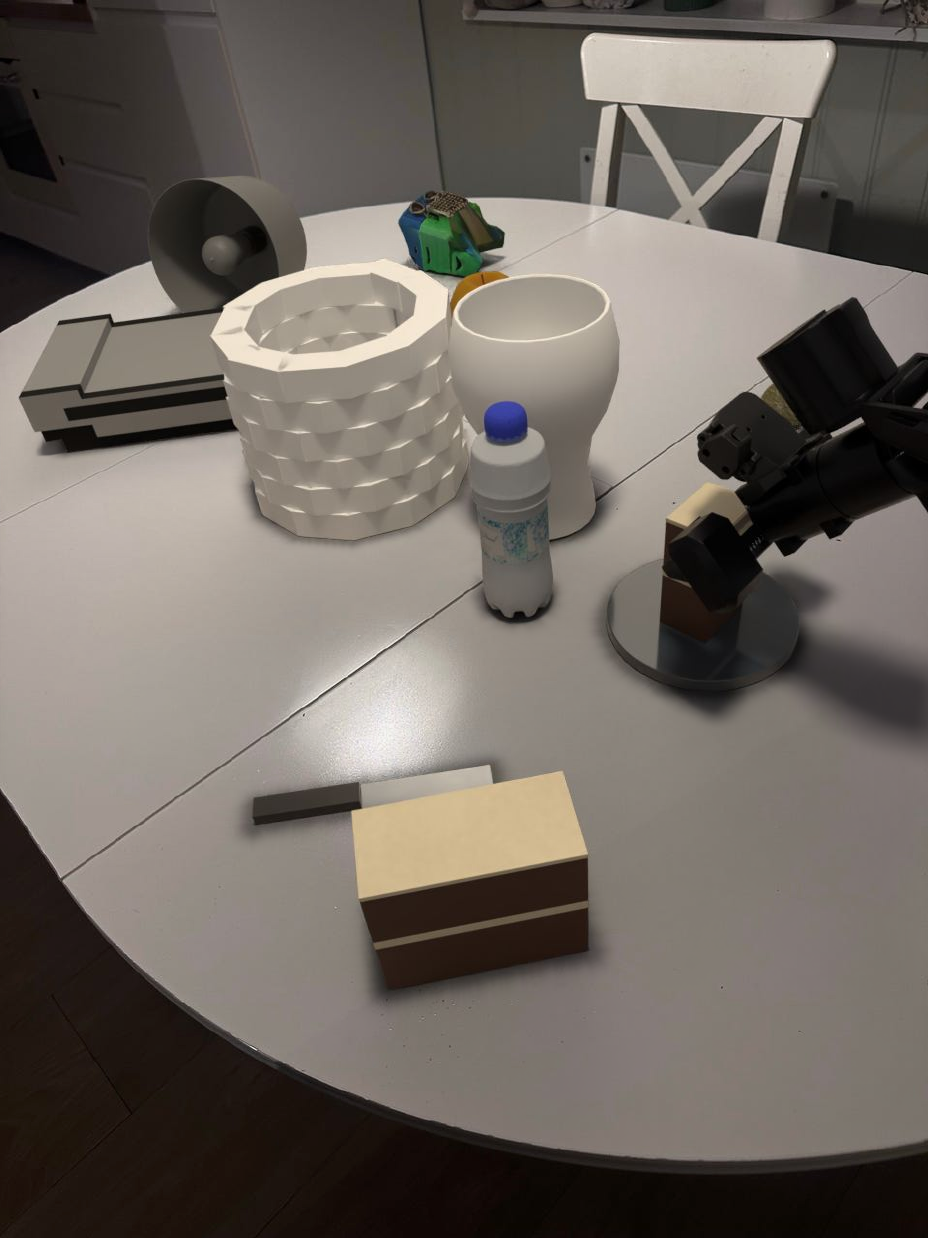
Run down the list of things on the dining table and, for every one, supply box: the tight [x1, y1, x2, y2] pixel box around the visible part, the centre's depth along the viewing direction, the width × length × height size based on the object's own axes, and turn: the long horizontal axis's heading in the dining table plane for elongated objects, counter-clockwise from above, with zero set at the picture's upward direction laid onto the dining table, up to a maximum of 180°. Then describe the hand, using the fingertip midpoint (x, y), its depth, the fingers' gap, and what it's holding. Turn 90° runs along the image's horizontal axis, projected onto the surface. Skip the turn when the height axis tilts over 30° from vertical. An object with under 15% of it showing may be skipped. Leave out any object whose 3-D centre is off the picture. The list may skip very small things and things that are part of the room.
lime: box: [760, 383, 800, 428], centre depth 100 cm, size 4×5×5 cm
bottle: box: [468, 401, 554, 618], centre depth 77 cm, size 7×7×20 cm
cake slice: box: [660, 481, 750, 643], centre depth 75 cm, size 4×6×11 cm
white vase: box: [449, 273, 621, 541], centre depth 87 cm, size 15×15×22 cm
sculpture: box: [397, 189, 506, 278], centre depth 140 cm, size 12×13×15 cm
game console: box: [18, 308, 238, 453], centre depth 116 cm, size 21×32×8 cm, turn 96°
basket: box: [210, 258, 470, 541], centre depth 96 cm, size 25×24×19 cm
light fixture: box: [147, 175, 308, 313], centre depth 137 cm, size 20×25×27 cm
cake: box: [350, 770, 590, 991], centre depth 57 cm, size 13×6×11 cm, turn 99°
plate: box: [606, 558, 800, 692], centre depth 79 cm, size 16×16×1 cm
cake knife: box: [251, 764, 495, 825], centre depth 69 cm, size 18×2×1 cm, turn 96°
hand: (692, 547), depth 75 cm, fingers open, 7 cm apart
